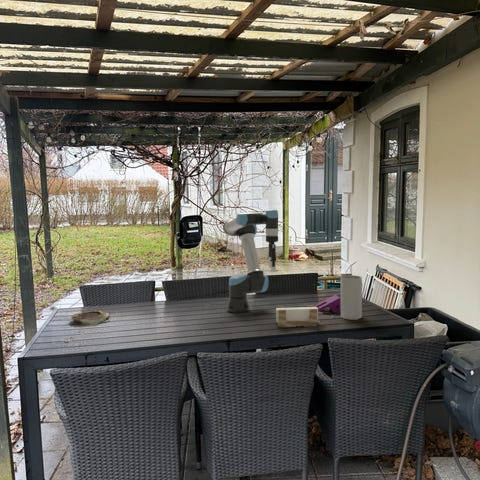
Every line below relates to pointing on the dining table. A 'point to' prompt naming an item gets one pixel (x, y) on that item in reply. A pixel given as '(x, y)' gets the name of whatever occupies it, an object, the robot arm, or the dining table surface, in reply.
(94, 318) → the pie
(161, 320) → the dining table surface
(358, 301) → the cylinder vase
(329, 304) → the mounting bracket
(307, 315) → the bar
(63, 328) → the dining table surface
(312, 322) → the rack
